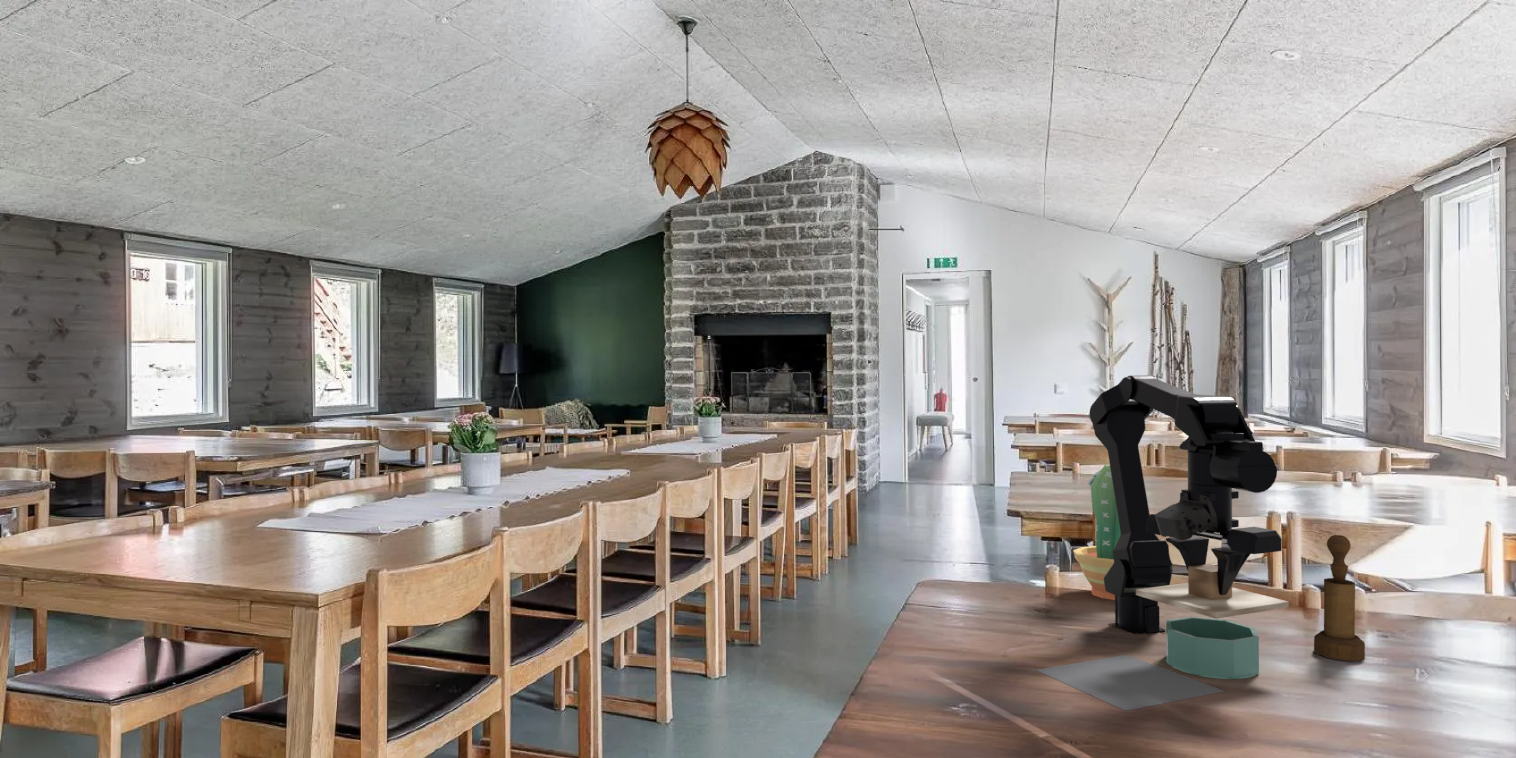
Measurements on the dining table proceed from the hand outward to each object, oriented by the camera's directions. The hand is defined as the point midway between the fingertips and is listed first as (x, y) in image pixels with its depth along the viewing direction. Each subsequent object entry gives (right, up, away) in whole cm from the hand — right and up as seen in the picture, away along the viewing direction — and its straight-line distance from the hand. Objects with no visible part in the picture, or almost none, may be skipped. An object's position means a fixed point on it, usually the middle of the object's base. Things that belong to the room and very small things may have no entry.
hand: (1210, 591), depth 130 cm
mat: (-15, -11, -6) cm, 20 cm away
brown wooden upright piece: (+23, -11, +6) cm, 26 cm away
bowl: (0, -11, 0) cm, 11 cm away
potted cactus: (+4, -11, +44) cm, 45 cm away
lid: (0, -1, 0) cm, 1 cm away
